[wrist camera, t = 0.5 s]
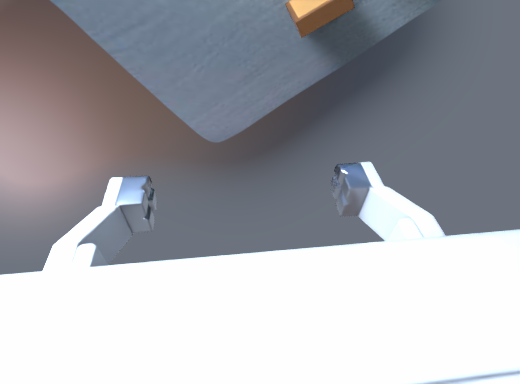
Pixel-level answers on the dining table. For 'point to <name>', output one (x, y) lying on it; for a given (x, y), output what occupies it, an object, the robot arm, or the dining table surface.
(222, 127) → the dining table surface
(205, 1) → the dining table surface
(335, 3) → the toast
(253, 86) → the dining table surface
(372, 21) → the dining table surface
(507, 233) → the robot arm
